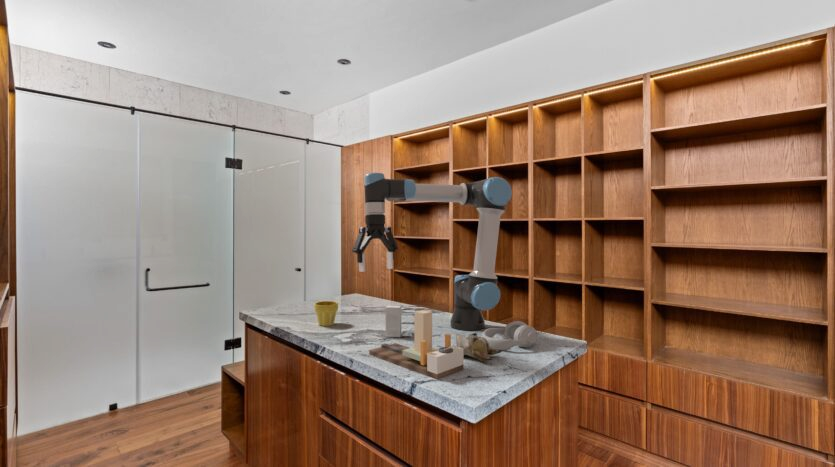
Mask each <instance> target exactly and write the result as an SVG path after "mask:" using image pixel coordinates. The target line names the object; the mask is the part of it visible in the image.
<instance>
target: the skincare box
mask: <svg viewBox="0 0 835 467" xmlns="http://www.w3.org/2000/svg"><path fill="white" fill-rule="evenodd" d="M384 308H385V309H384V311H385V312H384V313H385V338H401V336H402V305H386V306H385V307H384Z"/></svg>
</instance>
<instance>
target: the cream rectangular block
mask: <svg viewBox="0 0 835 467" xmlns="http://www.w3.org/2000/svg"><path fill="white" fill-rule="evenodd" d="M438 349H439V350H438V351H435V352H432V353H429V354H427V371H429V372H432V373H435V374H439V373H442V372H444V371H447V370H450V369H453V368H455V367H458V366H461V365H463V366H464V356H463V348H460V347H457V346H456V345H451V347H445V346H444V347H440V348H438Z"/></svg>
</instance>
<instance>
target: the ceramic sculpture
mask: <svg viewBox="0 0 835 467" xmlns="http://www.w3.org/2000/svg"><path fill="white" fill-rule="evenodd" d="M455 343H456V344H455V346H457V347H460V348H463V357H464V356H469V357H471V358H473V359H476V360H478V361H480V362H489V361H492V360H493V358H491V357H490V356H493V355H497V354H500V353H502V351H503V350H495V349H493V348H492V347H490V346H489V343H488V342H487V340H486V339H485V338H483V337H482V336H478V334H477V332H475V333H474V332H473V333H470V334H469V335H468V336H464V335H463V334H459V333H456V334H455Z"/></svg>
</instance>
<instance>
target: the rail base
mask: <svg viewBox="0 0 835 467" xmlns="http://www.w3.org/2000/svg"><path fill="white" fill-rule="evenodd" d="M409 348H410V347H409V346H406V345H403V344H400V343H396V342H395V343H391V344H388V343H383V344H381V346H379V347H376V348H372V349H369V350H368V355H369V354H370V356H372V355H373V357H376V358H378V359H380V360H383V361H386V362H388V363H391V364H395V365H398V366H400V367H403V368H405V369H408V370H411V371H413V372H416V373H419V374H422V375H424V376H427V377H430V378H432V379H435V380H439V379H442V378H444V377H448V376H449V375H452V374H456V373H457V372H460V371H463V370H464V364H463V365H461V366H458V367H455V368H453V369H450V370H447V371H444V372H442V373H439V374H435V373H432V372H429V371H427V364H426V365H421V361H418V360H415V359H412V358H409V357H406V356H403V355H402V350H405V349H409Z"/></svg>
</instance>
